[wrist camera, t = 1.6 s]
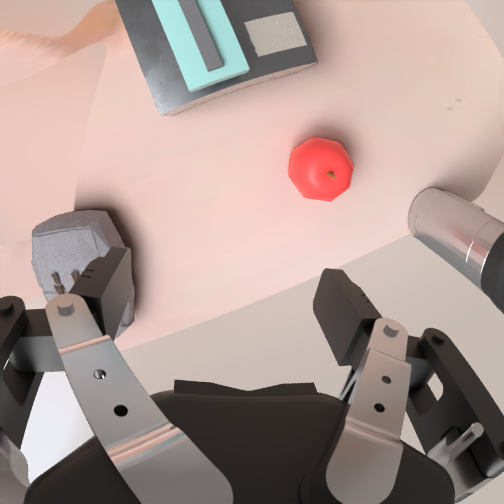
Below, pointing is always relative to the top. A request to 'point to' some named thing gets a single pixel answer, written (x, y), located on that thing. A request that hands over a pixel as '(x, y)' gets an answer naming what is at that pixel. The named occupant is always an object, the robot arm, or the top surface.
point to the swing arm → (201, 41)
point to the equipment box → (248, 35)
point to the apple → (320, 169)
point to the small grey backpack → (74, 252)
